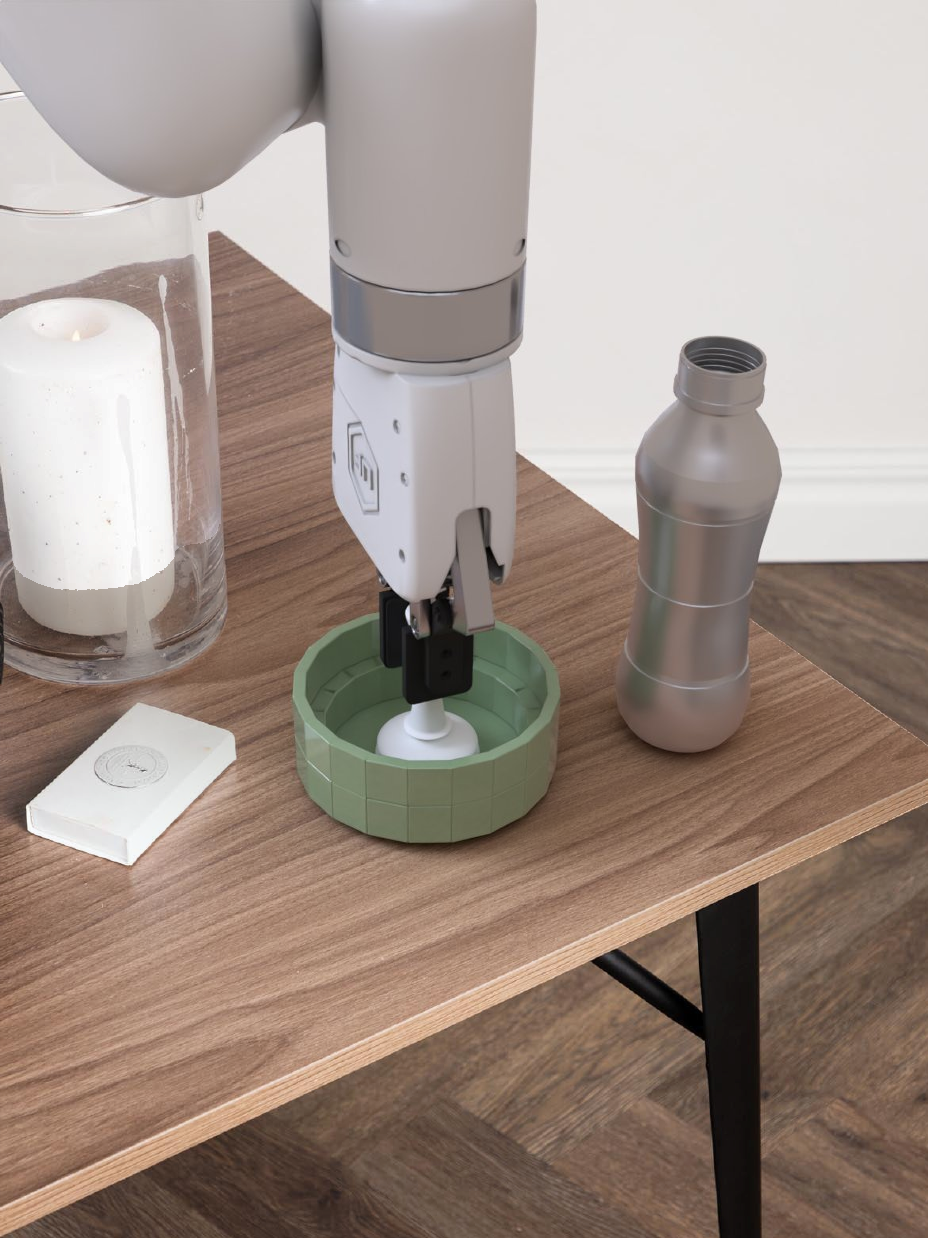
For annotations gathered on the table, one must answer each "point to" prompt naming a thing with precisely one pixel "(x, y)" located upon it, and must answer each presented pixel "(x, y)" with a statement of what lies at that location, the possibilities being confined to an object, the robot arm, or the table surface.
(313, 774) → the bowl
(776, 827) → the table surface
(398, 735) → the chess piece
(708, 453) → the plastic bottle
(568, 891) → the table surface
